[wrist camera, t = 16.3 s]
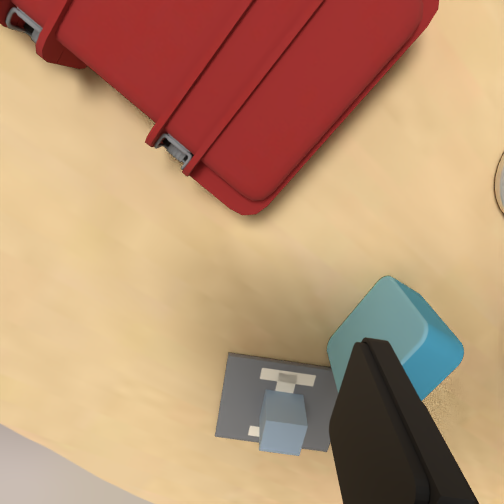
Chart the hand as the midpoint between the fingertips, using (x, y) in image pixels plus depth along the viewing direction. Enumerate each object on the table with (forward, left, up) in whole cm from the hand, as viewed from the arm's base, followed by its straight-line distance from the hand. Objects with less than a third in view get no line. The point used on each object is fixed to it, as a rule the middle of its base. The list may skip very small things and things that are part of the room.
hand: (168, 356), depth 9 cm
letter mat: (-10, +30, -30) cm, 44 cm away
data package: (-18, +15, -31) cm, 39 cm away
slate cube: (-10, +30, -30) cm, 43 cm away
